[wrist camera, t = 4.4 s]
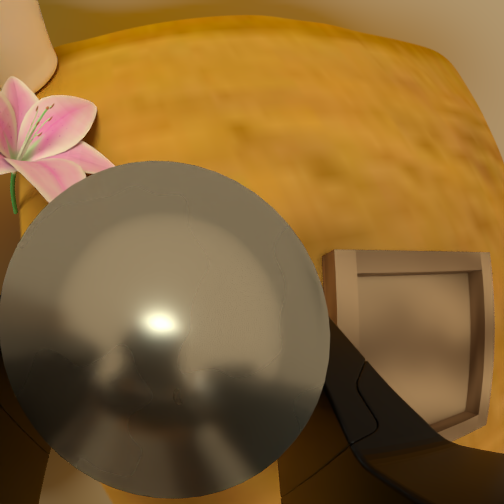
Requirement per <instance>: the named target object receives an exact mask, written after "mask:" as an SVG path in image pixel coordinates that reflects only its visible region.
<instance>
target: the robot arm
mask: <svg viewBox="0 0 504 504" xmlns="http://www.w3.org/2000/svg"><path fill="white" fill-rule="evenodd" d="M0 299H1V295H0ZM328 317H329V316H328ZM329 328H330V349H329V361H328V367H327V372H326V377H325V382H324V385H323V388H322V391H321V394H320V397H319V400H318V403H317V405H316V407H315V409H314V411H313V413H312V415H311V417H310V419H309V421H308V422H307V424H306V426H305V427H304V429H303V430H302V431H301V433H300V434H299V436H298V437H297V438H296V440H295V441H294V442H293V443H292V445H291V446H290V447H289V448H288V449H287V450H286V451H285V452H284V453H283V454H282V455H281V456H280V457H279V458H278V470H279V482H280V493H281V497H282V498H281V504H504V454H502V453H496V452H491V451H485V450H480V449H475V448H470V447H465V446H461V445H458V444H455V443H453V442H451V441H449V440H447V439H445V438H444V437H443V436H441V435H440V434H439V433H438V432H436V431H435V430H434V429H433V428H432V427H431V426H430V425H429V424H428V423H427V422H426V421H425V420H424V419H423V418H422V417H421V416H420V415H419V414H418V413H417V412H416V411H415V410H413V409H412V408H411V407H410V406H409V405H408V404H407V403H406V402H405V401H404V400H403V399H402V398H401V397H400V396H399V395H398V394H397V393H396V392H395V391H394V390H393V389H392V388H391V387H390V386H389V385H388V384H387V382H386V381H385V380H384V379H383V378H382V377H381V376H380V375H379V373H378V372H377V371H376V370H375V369H374V368H373V367H372V365H371V364H370V363H369V362H368V361H365V360H366V359H365V357H364V356H363V355H362V354H361V353H360V352H359V350H358V349H357V348H356V347H355V346H354V345H353V344H352V342H351V341H350V340H349V339H348V338H347V337H346V335H345V334H344V333H343V332H342V331H341V330H340V329H339V327H338V326H337V325H336V324H335V323H334V322H333V320H332V319H331V318H330V317H329ZM50 450H51V446H50V445H49V444H48V443H47V442H46V441H45V440H44V439H43V438H42V437H41V435H40V434H39V433H38V432H37V430H36V429H35V428H34V427H33V425H32V424H31V423H30V421H29V419H28V418H27V416H26V415H25V413H24V411H23V410H22V408H21V406H20V404H19V402H18V400H17V398H16V396H15V394H14V392H13V389H12V387H11V385H10V382H9V379H8V376H7V372H6V369H5V366H4V361H3V356H2V351H1V346H0V504H39V499H40V494H41V489H42V484H43V480H44V475H45V471H46V467H47V462H48V458H49V455H48V454H50Z"/></svg>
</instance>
